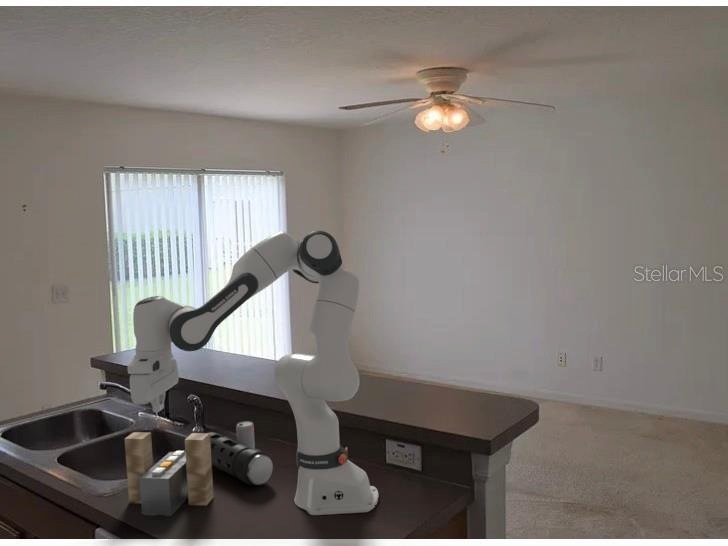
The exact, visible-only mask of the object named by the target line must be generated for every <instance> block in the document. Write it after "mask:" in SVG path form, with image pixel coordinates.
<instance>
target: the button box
mask: <svg viewBox="0 0 728 546" xmlns="http://www.w3.org/2000/svg"><path fill="white" fill-rule="evenodd" d="M139 480H140V494H141V503H140V504H141V515H142V514H154V515H153V516H156V515H164V516H163V517H172V516H173V514H175V513H176V512H177V510H179V508H180V507H181V506H182V505H183V504H184V503H185V502H186V500H187V499H188V484H187V469H186V453H185V450H176V451H169V452H168V453H167V454H166V455H165V456H163V457H162V458H161V459H159V461H158V462H156V463H155V464H153V467H152V468H150V469H149V470H148V471H147V472H146V473H145V474H143V475H142V476H141V477H140V478H139Z"/></svg>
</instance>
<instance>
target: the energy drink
mask: <svg viewBox="0 0 728 546" xmlns="http://www.w3.org/2000/svg"><path fill="white" fill-rule="evenodd" d="M254 427H255V425H254V422H253V421H247V420H246V421H240V422H238V423H237V424H236V426H235V428H236V430H235V431H236V442H239V443H241V444H243V445H246V446H248V447H250V448H255V449H256V444H255V443H256V442H255V441H256V440H255V428H254Z"/></svg>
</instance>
